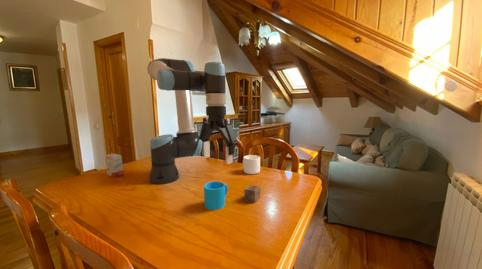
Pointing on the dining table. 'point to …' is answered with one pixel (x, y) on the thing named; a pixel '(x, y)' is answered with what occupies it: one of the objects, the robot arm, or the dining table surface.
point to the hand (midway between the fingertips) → (217, 160)
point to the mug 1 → (215, 195)
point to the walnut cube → (252, 193)
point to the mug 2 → (251, 164)
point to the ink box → (114, 165)
